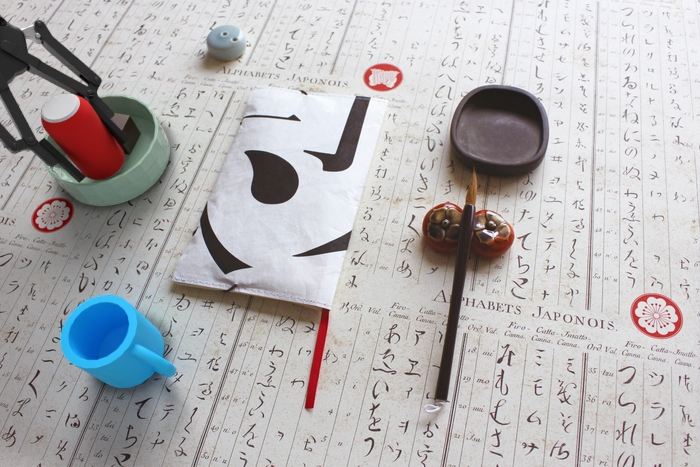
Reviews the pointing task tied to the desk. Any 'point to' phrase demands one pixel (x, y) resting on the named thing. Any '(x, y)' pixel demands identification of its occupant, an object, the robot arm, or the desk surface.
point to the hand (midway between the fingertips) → (104, 160)
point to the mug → (114, 342)
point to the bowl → (137, 167)
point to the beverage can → (82, 136)
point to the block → (127, 131)
